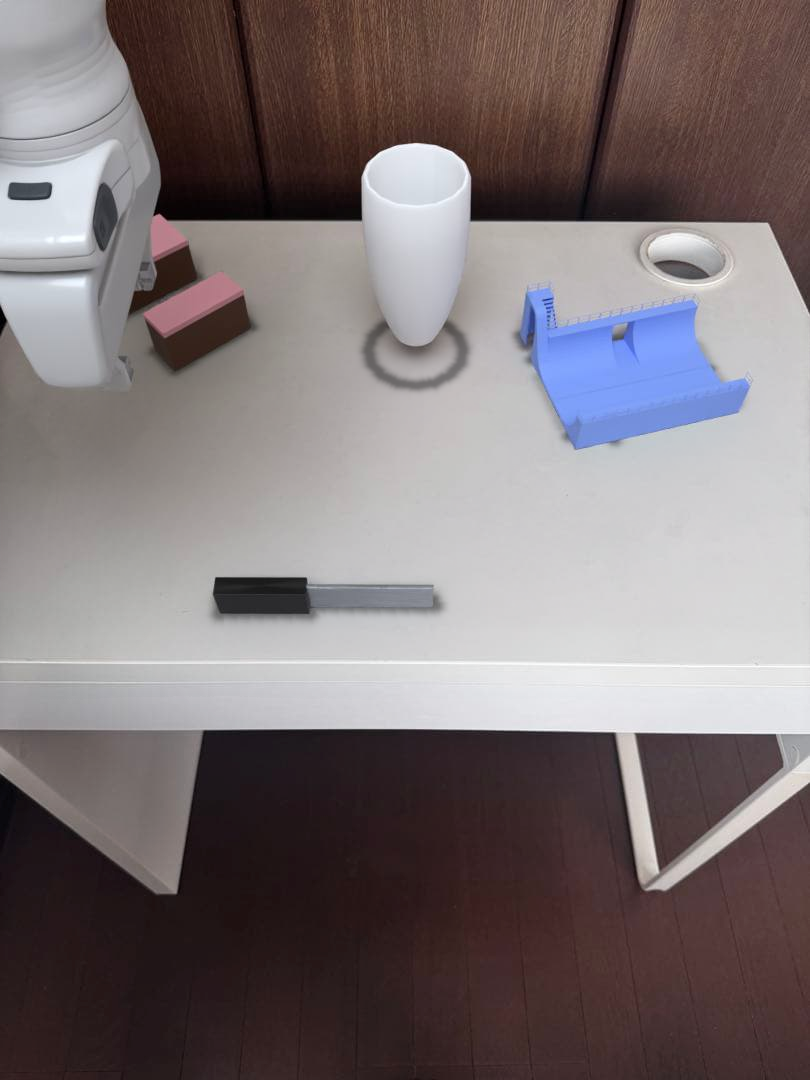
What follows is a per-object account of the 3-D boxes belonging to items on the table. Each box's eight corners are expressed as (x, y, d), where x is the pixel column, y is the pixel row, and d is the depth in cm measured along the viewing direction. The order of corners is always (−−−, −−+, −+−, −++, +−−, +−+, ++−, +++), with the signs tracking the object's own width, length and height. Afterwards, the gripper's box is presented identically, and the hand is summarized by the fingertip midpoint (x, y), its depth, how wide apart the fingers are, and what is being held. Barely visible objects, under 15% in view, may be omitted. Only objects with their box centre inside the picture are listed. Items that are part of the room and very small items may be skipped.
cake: (122, 317, 98) (107, 278, 94) (96, 289, 101) (81, 250, 96) (197, 278, 102) (187, 239, 97) (170, 252, 104) (159, 213, 100)
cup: (352, 370, 94) (338, 194, 76) (390, 307, 99) (385, 129, 81) (442, 397, 91) (450, 223, 73) (477, 332, 97) (491, 154, 78)
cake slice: (175, 371, 94) (162, 333, 89) (155, 351, 95) (142, 313, 91) (251, 328, 97) (243, 289, 93) (230, 309, 99) (221, 270, 94)
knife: (220, 613, 78) (212, 594, 75) (222, 596, 79) (215, 576, 76) (432, 614, 78) (433, 595, 75) (432, 596, 78) (433, 577, 76)
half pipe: (575, 449, 87) (587, 401, 81) (519, 336, 96) (527, 285, 90) (738, 412, 90) (761, 362, 84) (670, 305, 99) (686, 253, 93)
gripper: (48, 40, 53) (114, 232, 64) (-49, 266, 42) (52, 448, 53) (152, 40, 53) (199, 231, 64) (83, 266, 42) (155, 448, 53)
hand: (132, 331), depth 59 cm, fingers open, 8 cm apart
